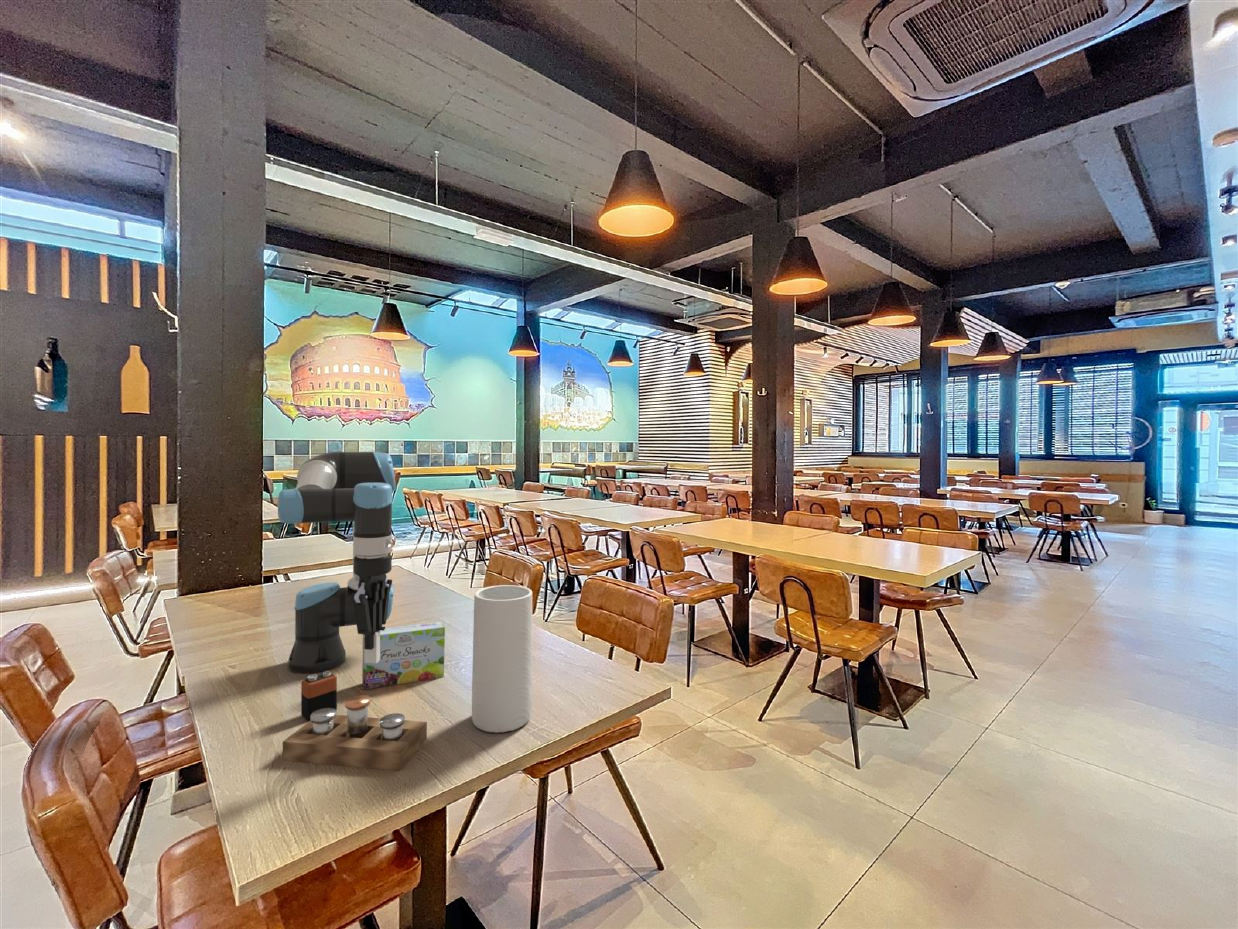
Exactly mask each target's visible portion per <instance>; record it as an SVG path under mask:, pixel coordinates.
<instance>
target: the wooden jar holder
mask: <svg viewBox="0 0 1238 929" xmlns="http://www.w3.org/2000/svg"><path fill="white" fill-rule="evenodd" d="M381 718H382V717H371V716H369V717H368V728H367V730H365V731H364V732H362V733H358V734H350V733H348V732H347V715H343V714H336V717H335V718H334V730H333V731H332V732H330V733H329V734H328V735H315V734H313V723H312V722H311V721H308V722H306V723H305V724H304V725H303V726H301V727H300V728H299V729H297V730H296V731H295V732H294V733H292V734H290V735H289V736H288V737H287V738H286V739H284V740H283V741H282V761H287V762H300V763H301V762H302V763H311V764H313V763H314V764H325V765H334V766H342V767H343V766H345V767H353V768H354V767H355V768H367V769H378V770H390V771H398V772H399V771H401V770H402V769H403V768H404V767H405V766H406V764H407V763H409V761H410V760H411V759H412V757H413V756H414V755H415V753H417V751H418V750H419V749H420V748H421V747H422V745H423V744H424V743H425V742H426V741H427V740H428V738H427V737H428V735H427V734H428V722H427V721H419V720H408V719H407V720H406V719H405V722H404V724H403V725H402V737H401V738H400V739H399V740H398V741H387V740H382V728H381V727H380V719H381Z"/></svg>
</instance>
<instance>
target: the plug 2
mask: <svg viewBox="0 0 1238 929" xmlns="http://www.w3.org/2000/svg"><path fill="white" fill-rule="evenodd" d="M405 717H406V716H405V715H404V714H402V713H399V712H396V713H395V712H393V713H389V714H386V715H384V716H382V717H380V718H381V719H380V727H381V728H382V740H387V741H398V740H399V739H400V738H401V737H402V725H403V724H404V722H405V720H406V718H405Z"/></svg>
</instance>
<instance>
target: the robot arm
mask: <svg viewBox="0 0 1238 929" xmlns="http://www.w3.org/2000/svg"><path fill="white" fill-rule="evenodd" d="M393 463H394V462H393V459H392V456H391V455H390V454H389V453H387V452H379V451H378V452H376V451H330V452H326V453H321V454H318V455H316V456H314V457H312V458H309V459H308V460H306V461H305V462H303V464H301V465H300V467H299V469H298V471H297V473H296V481H297V484H296V487H295V488H290V489H281V490H280V491H279V494H278V498H277V516H278V520H279V522H280V523H282V524H296V525H300V524H315V523H332V522H333V523H335V522H336V523H338V522H340V523H341V522H342V523H344V522H345V523H346V522H352V532H353V533H352V545H353V546H352V549H353V550H352V561H353V562H352V577H351V578H350V579H348V582H347V583H346V584H347V585H346V586H345V587H341V585H340V583H338V582H331V581H330V582H322V583H318V584H314V585H310V586H308V587H305V588H302V589H301V590H300V591H298V593H297V594H296V595H295V602H294V603H295V605H294V610H295V612H294V613H295V614H294V615H295V616H294V617H295V618H294V619H295V620H294V621H295V623H294V625H295V626H294V635H295V636H294V639H295V640H294V644H293V646H292V648H291V652H290V654H289V656H288V661H287V665H288V666H287V668H288V670H289V671H290V672H293V673H298V674H299V673H300V674H311V673H319V672H326V671H329V670H332V669H334V668H336V667H338V666H341V665H342V664H343V663H344V662H345V661H346V657H347V656H346V649H345V647H344V644H343V641H342V638H341V636H340V628H342V627H349V626H350V627H351V626H356V630H357V634H358V635H363V634H364V636H365V639H364V663H378V662H379V661H380V630H381V631H384V630H385V628H386V626H385V625H386V624H387V620H389V618H390V616H391V613H392V609H393V603H394V593H395V592H394V590H395V588H394V584H393V580H392V579H389V578H388V576H387V574H389V573H390V572H391V570H392V558H393V557H392V555H391V554H390V553H392V545H393V543H394V541H393V540H392V535H393V534H392V533H393V532H392V525H393V524H392V522H393V521H392V520H393V517H392V516H393V502H394V498H393V492H396V489H397V488H396V478H395V469H394V465H393Z"/></svg>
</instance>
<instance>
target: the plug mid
mask: <svg viewBox="0 0 1238 929" xmlns="http://www.w3.org/2000/svg"><path fill="white" fill-rule="evenodd" d="M370 704H371V697H370V695H368V694H356V695H353V696H349V697H348V698H346V700H345V701H344V708H345V709H347V715H346V716H347V732H348V733H350V734H358V733H362V732H364V731H365V730H367V728H368V716H369V712H368V710H369V705H370Z"/></svg>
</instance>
